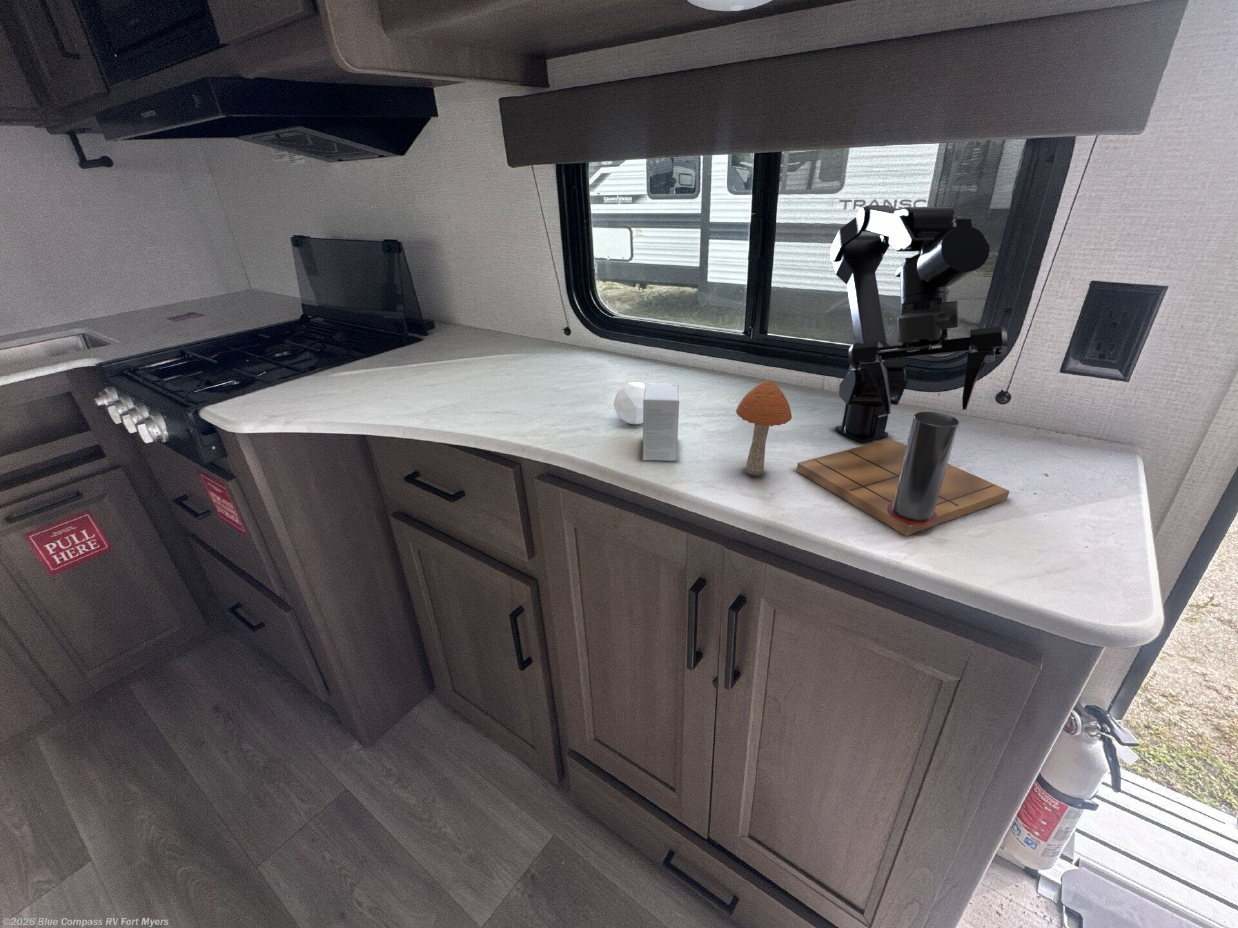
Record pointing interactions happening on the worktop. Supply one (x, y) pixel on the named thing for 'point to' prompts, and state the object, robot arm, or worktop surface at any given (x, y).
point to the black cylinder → (924, 465)
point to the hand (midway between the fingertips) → (925, 411)
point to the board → (874, 480)
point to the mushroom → (762, 419)
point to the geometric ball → (630, 403)
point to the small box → (660, 421)
